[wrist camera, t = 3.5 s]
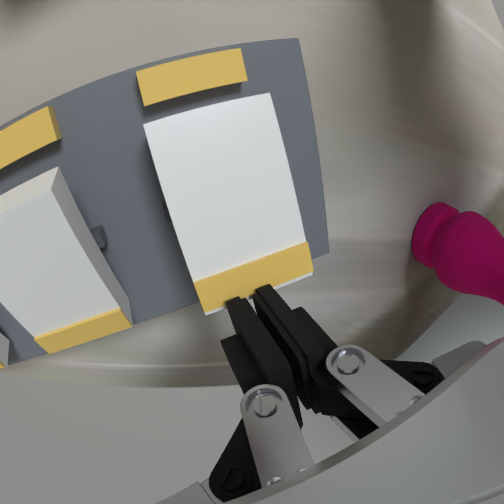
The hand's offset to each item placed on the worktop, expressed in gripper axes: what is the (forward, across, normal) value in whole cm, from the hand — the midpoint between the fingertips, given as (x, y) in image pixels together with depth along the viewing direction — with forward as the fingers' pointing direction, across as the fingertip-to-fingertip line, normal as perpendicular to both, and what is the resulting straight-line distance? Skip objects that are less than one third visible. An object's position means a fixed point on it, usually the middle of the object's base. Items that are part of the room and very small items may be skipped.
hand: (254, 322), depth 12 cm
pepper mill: (+9, -21, +7) cm, 23 cm away
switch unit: (+9, +7, -5) cm, 12 cm away
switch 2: (+2, -1, -4) cm, 5 cm away
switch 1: (+2, +7, -4) cm, 8 cm away
